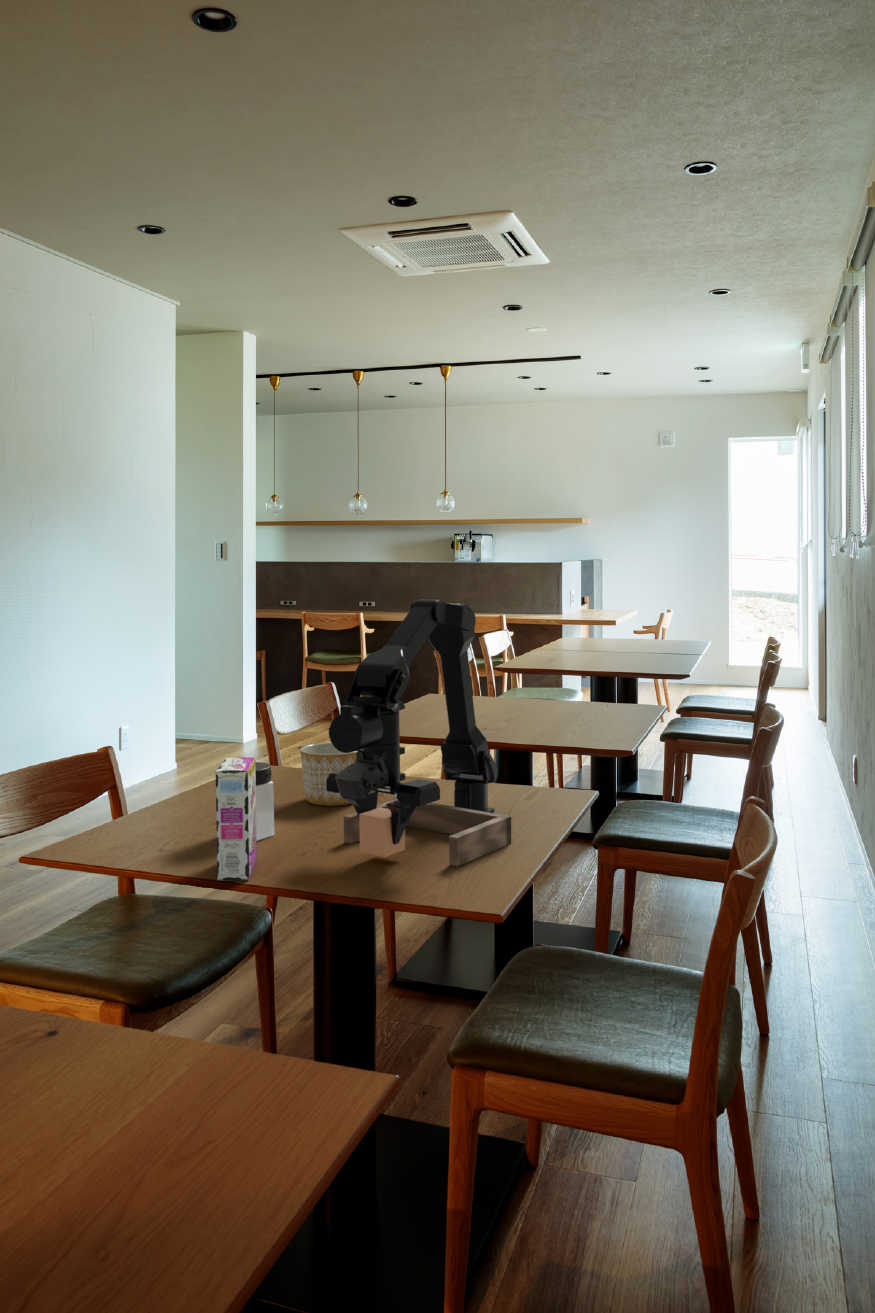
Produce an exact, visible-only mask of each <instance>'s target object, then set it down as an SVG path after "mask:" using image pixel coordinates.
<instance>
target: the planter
mask: <svg viewBox="0 0 875 1313" xmlns="http://www.w3.org/2000/svg"><path fill="white" fill-rule="evenodd" d="M299 753H300V760H301V761H300V762H301V769H302V777H303V786H304V796H305V798H306V801H307V802H308V803H310V804H313V805H316V806H321V807H340V806H347V805H352V804H351V803H350V802H349V801H347V800H346V799H343V798H342V796H341V795H340V793H335V792H329V791H326V779H327V778H328V776H329V774H330V773H332V772H336V771H340V770H344V769H345V768H346V767H348V766H349V765H351V764H353V763H355V762H356V753H357V751H354V752H350V753H343V752H340V751H339V750H337V749H336V748H335V747H334V746H333V744H332V743H331V742H320V743H313V744H312V743H311V744H308V745H304V746H301V748H300V749H299Z"/></svg>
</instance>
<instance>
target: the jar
mask: <svg viewBox="0 0 875 1313" xmlns="http://www.w3.org/2000/svg"><path fill="white" fill-rule="evenodd" d="M255 774H256V842H260V841H261V840H264V839H267V838H271V837H273V836H275V809H274V808H275V806H274V805H275V804H274V802H275V800H274V782H273V781H272V775H273V774H272V765H271V764H269V763H266V762H260V761H255Z"/></svg>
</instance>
